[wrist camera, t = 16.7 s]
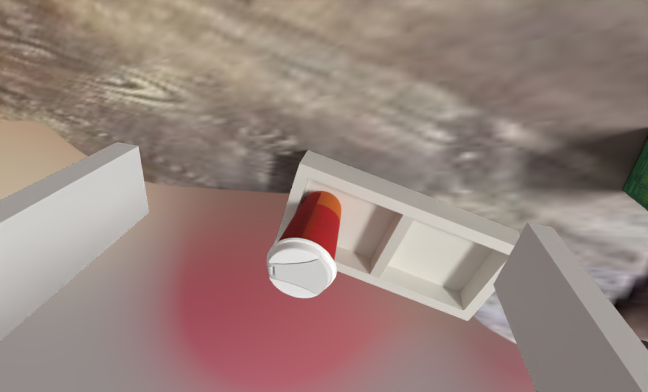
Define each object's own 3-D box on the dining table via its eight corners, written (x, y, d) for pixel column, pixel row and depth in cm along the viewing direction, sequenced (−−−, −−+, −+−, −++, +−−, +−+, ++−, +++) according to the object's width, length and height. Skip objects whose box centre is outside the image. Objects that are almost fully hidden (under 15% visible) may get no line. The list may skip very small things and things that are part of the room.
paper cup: (296, 227, 49) (265, 296, 37) (295, 181, 45) (260, 241, 33) (348, 233, 48) (333, 306, 36) (351, 186, 44) (336, 251, 32)
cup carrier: (282, 228, 51) (273, 246, 47) (307, 150, 44) (299, 163, 40) (462, 297, 51) (467, 320, 47) (517, 230, 44) (529, 251, 40)
